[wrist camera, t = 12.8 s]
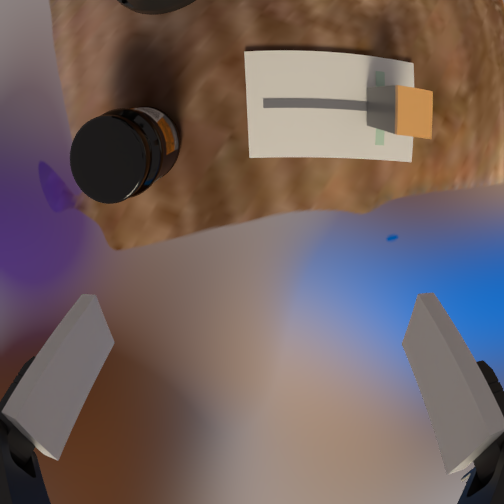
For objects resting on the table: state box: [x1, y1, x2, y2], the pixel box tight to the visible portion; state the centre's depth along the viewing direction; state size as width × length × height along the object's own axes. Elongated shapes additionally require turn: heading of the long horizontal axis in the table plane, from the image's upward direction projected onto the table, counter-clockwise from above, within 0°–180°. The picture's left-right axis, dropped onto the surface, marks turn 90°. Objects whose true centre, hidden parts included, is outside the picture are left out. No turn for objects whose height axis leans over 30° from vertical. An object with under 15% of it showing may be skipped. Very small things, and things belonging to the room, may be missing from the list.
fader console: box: [244, 50, 414, 162], centre depth 34 cm, size 14×22×1 cm, turn 93°
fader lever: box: [367, 85, 433, 139], centre depth 28 cm, size 5×4×10 cm
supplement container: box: [70, 107, 180, 204], centre depth 33 cm, size 10×10×12 cm
